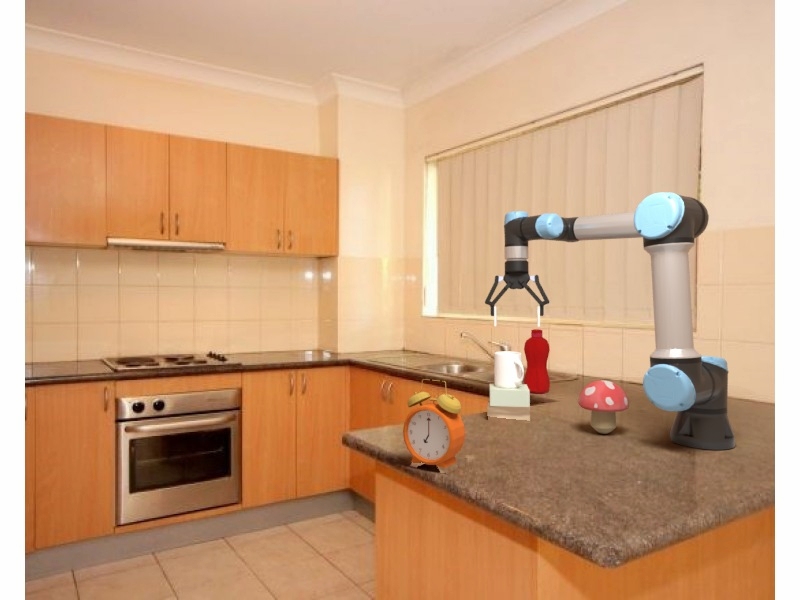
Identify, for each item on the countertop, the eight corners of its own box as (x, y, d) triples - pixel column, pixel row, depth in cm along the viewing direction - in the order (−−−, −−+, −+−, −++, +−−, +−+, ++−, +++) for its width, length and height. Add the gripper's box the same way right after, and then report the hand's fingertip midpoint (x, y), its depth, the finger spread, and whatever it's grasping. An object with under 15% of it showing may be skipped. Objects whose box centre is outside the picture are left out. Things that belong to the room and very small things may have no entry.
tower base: (530, 423, 172) (530, 407, 172) (487, 421, 175) (487, 405, 175) (529, 414, 185) (529, 399, 185) (489, 412, 188) (489, 397, 188)
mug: (512, 391, 172) (511, 356, 172) (489, 385, 183) (489, 352, 182) (534, 388, 176) (534, 354, 175) (510, 382, 186) (510, 350, 186)
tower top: (529, 406, 173) (529, 390, 173) (490, 406, 174) (490, 389, 174) (526, 399, 185) (526, 384, 184) (489, 398, 186) (489, 383, 186)
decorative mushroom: (637, 439, 151) (637, 384, 151) (587, 440, 151) (587, 384, 151) (617, 427, 165) (617, 376, 165) (572, 428, 165) (572, 377, 164)
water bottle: (553, 390, 227) (553, 328, 227) (544, 394, 218) (544, 330, 217) (530, 388, 232) (530, 328, 232) (521, 392, 223) (521, 329, 222)
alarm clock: (401, 466, 129) (401, 379, 129) (416, 459, 134) (415, 376, 134) (452, 476, 122) (452, 384, 121) (465, 469, 127) (465, 380, 127)
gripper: (555, 260, 182) (556, 325, 182) (478, 261, 187) (478, 325, 187) (557, 258, 174) (557, 327, 174) (476, 260, 179) (477, 326, 179)
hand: (516, 326), depth 181 cm, fingers open, 13 cm apart
